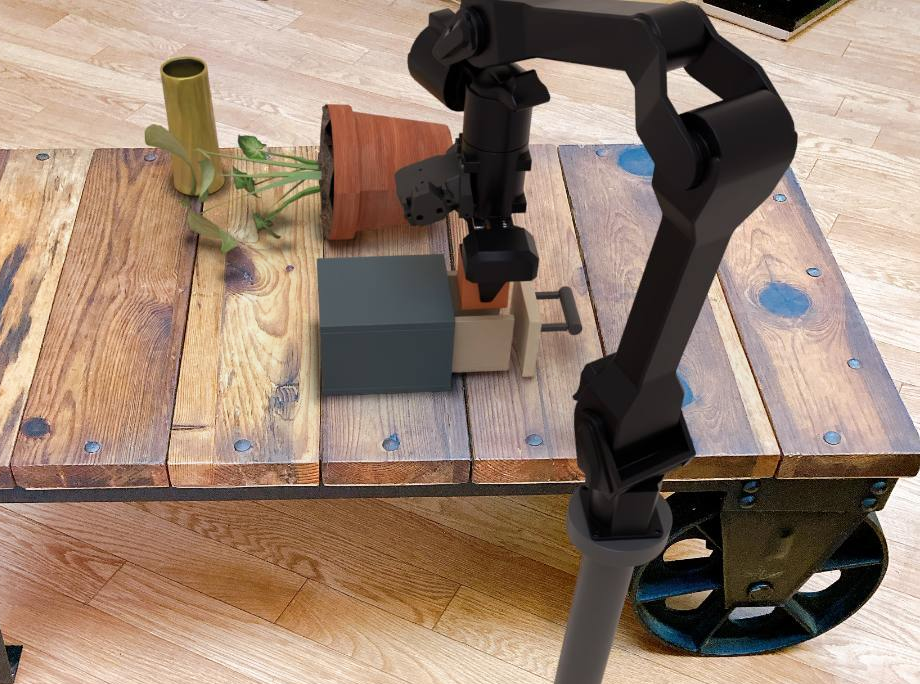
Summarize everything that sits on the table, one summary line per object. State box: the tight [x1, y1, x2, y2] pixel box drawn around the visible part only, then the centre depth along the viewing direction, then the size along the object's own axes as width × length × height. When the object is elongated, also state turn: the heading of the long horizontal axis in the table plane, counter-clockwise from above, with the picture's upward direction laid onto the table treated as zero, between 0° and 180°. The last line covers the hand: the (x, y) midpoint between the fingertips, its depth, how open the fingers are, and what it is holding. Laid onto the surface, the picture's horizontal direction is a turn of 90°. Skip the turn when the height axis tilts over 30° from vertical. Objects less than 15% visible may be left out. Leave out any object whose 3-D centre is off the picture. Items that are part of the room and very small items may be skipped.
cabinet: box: [316, 253, 455, 397], centre depth 109 cm, size 13×11×9 cm
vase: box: [159, 55, 226, 197], centre depth 127 cm, size 6×6×14 cm
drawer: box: [447, 270, 584, 378], centre depth 109 cm, size 16×9×7 cm, turn 94°
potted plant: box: [144, 103, 454, 255], centre depth 121 cm, size 16×15×35 cm
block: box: [456, 246, 511, 310], centre depth 105 cm, size 4×4×4 cm
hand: (482, 286), depth 106 cm, fingers closed on block, 4 cm apart
